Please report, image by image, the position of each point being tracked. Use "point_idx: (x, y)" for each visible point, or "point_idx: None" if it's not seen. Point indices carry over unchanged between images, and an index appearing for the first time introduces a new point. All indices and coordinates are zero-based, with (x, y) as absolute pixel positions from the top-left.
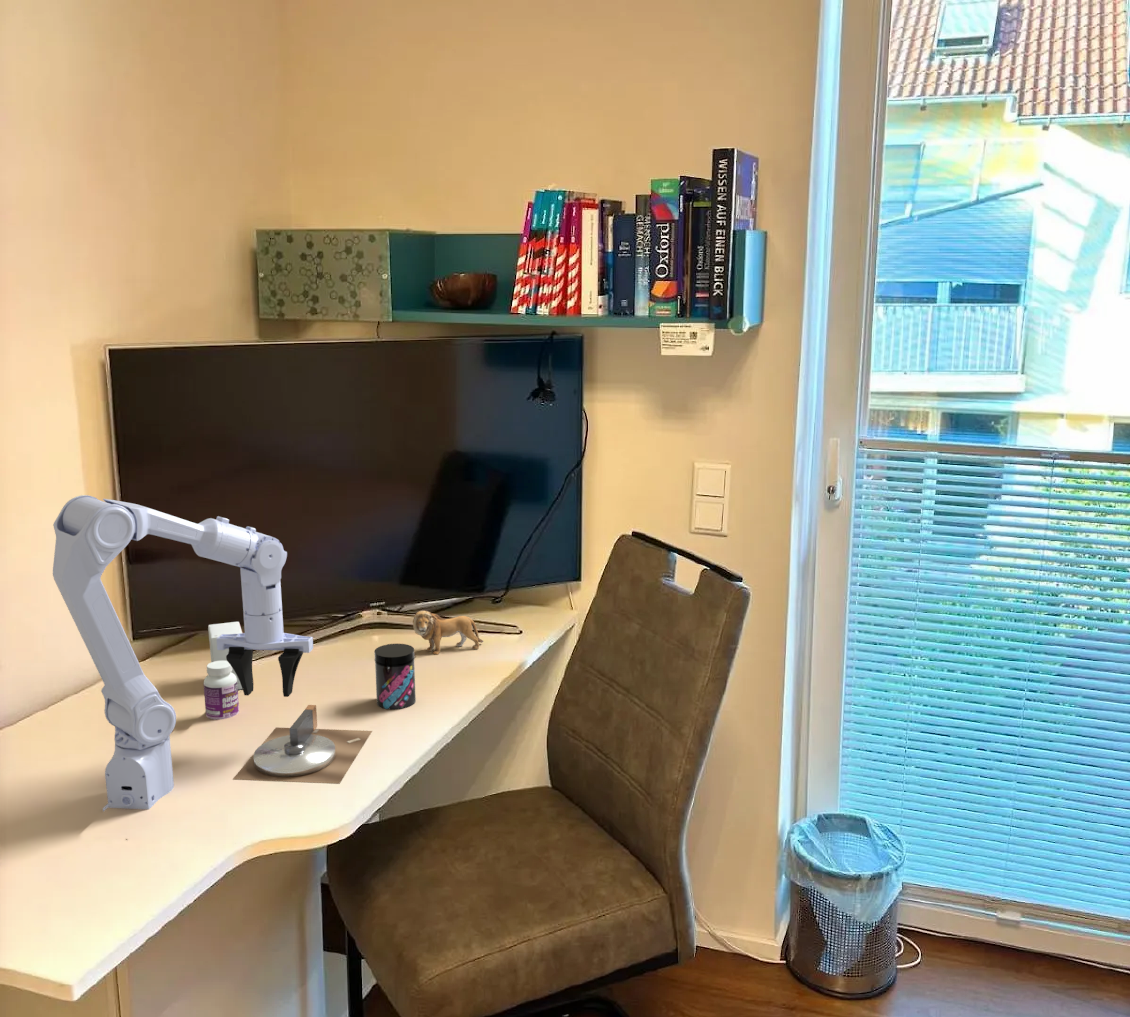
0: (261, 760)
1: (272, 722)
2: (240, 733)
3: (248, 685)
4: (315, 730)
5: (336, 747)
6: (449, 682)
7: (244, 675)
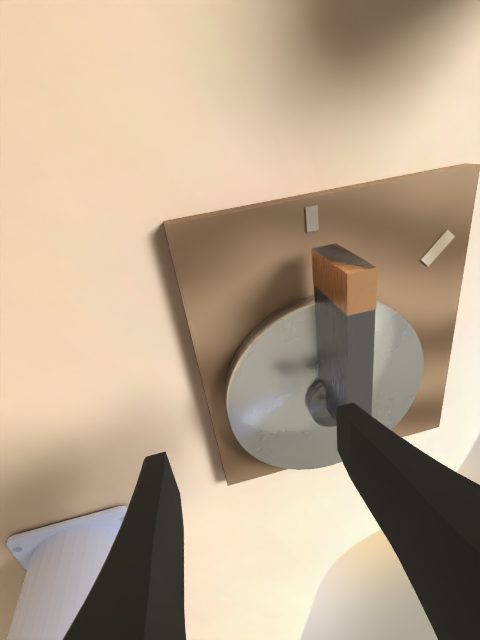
0: (272, 454)
1: (88, 132)
2: (42, 255)
3: (177, 527)
4: (310, 216)
5: (399, 296)
6: None
7: (183, 624)
